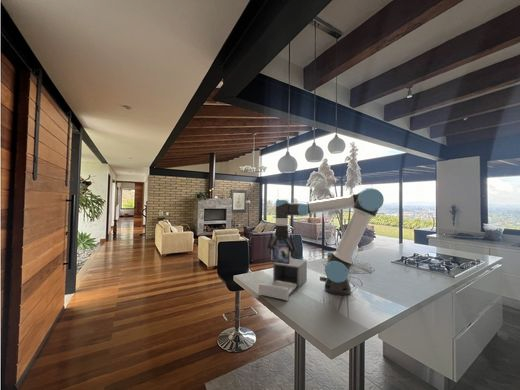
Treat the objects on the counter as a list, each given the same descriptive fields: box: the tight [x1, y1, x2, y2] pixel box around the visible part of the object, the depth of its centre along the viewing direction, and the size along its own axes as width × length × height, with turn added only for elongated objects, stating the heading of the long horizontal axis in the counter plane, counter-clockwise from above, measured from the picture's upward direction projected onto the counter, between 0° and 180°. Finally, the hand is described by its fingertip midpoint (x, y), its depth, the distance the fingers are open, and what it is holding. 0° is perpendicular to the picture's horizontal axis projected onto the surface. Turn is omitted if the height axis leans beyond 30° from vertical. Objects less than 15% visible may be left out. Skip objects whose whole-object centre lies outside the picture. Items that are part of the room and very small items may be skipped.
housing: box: [272, 257, 308, 290], centre depth 148 cm, size 17×18×14 cm
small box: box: [271, 242, 290, 264], centre depth 134 cm, size 11×6×10 cm, turn 68°
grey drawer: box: [258, 280, 297, 301], centre depth 130 cm, size 17×21×6 cm
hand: (281, 261), depth 134 cm, fingers closed on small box, 11 cm apart
